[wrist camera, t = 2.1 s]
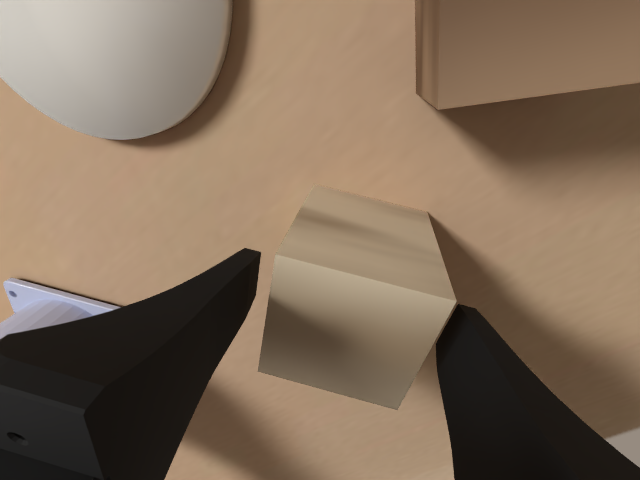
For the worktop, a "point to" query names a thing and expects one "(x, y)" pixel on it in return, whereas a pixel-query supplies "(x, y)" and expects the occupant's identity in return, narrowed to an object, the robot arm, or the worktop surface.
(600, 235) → the worktop surface
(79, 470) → the robot arm
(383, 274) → the beech block
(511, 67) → the walnut block
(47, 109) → the coaster
